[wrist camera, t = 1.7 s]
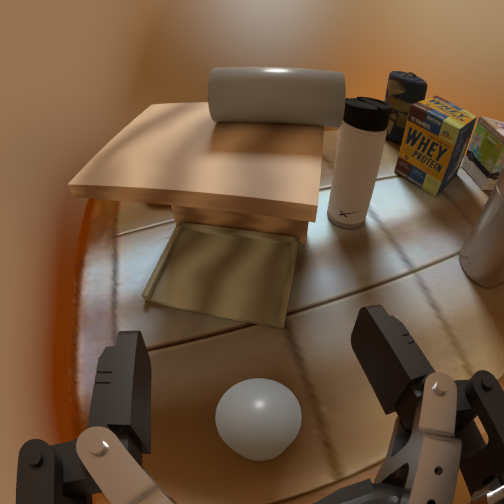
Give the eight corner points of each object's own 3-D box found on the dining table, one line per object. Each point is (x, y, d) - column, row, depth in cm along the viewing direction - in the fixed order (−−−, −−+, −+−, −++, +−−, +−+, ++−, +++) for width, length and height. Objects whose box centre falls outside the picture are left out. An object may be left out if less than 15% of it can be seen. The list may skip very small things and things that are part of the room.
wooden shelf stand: (310, 233, 45) (324, 109, 30) (294, 338, 34) (317, 205, 19) (178, 216, 48) (152, 104, 34) (132, 304, 38) (67, 184, 23)
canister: (371, 129, 69) (381, 64, 55) (398, 127, 70) (410, 67, 57) (393, 147, 63) (408, 77, 49) (421, 145, 64) (436, 81, 51)
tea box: (483, 192, 52) (506, 137, 41) (460, 166, 59) (477, 113, 48) (516, 192, 53) (538, 145, 42) (495, 168, 60) (512, 122, 49)
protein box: (392, 172, 56) (409, 103, 44) (421, 152, 62) (436, 95, 50) (435, 199, 50) (460, 129, 39) (457, 174, 56) (477, 116, 45)
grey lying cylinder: (223, 109, 31) (334, 114, 29) (211, 131, 27) (340, 137, 26) (219, 62, 27) (339, 66, 25) (205, 76, 23) (347, 80, 22)
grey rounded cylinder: (292, 416, 28) (308, 385, 19) (282, 466, 24) (293, 463, 15) (239, 406, 29) (227, 370, 20) (226, 455, 25) (205, 446, 16)
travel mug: (344, 236, 44) (370, 111, 29) (319, 210, 48) (333, 91, 33) (373, 223, 46) (404, 107, 31) (348, 199, 50) (367, 88, 35)
